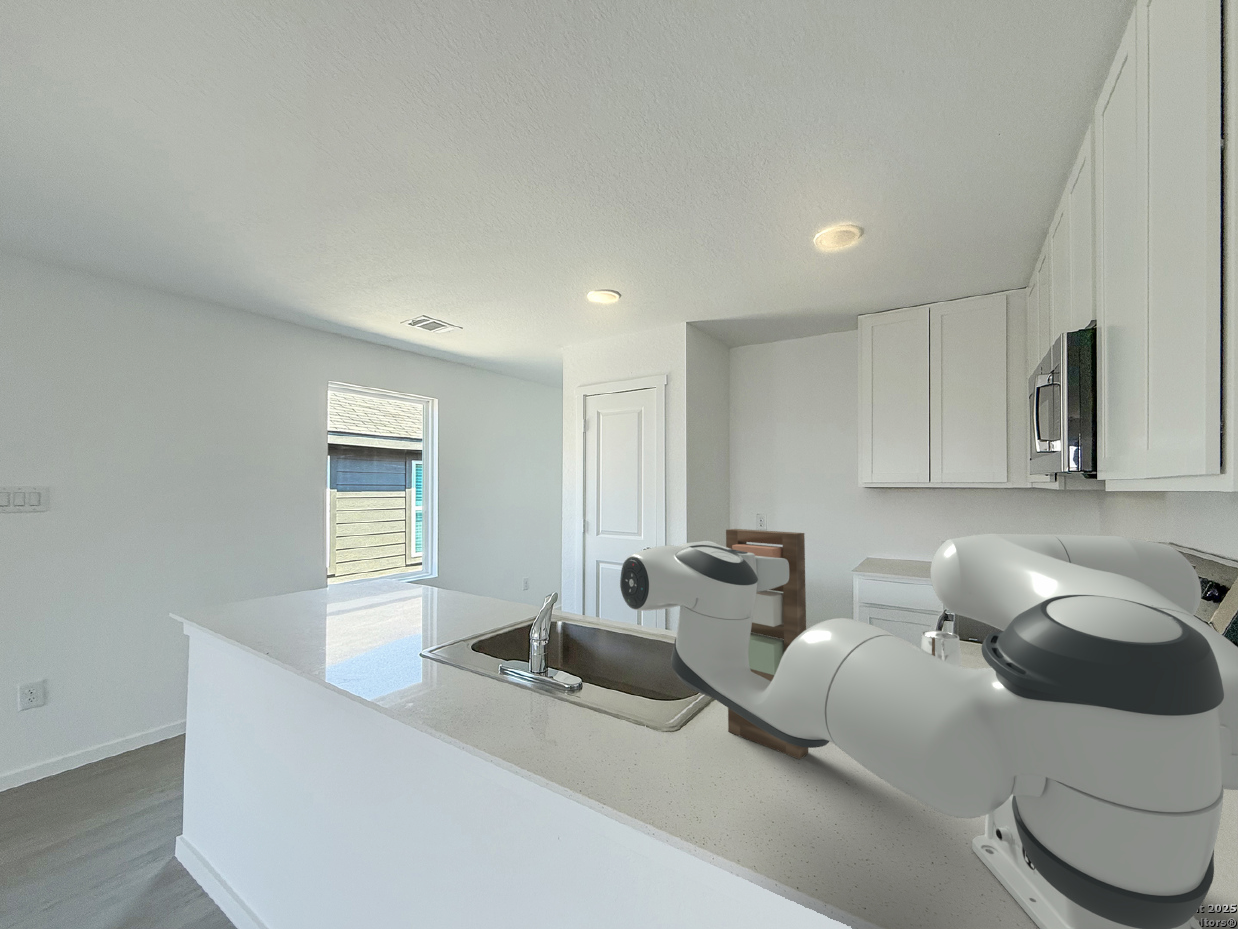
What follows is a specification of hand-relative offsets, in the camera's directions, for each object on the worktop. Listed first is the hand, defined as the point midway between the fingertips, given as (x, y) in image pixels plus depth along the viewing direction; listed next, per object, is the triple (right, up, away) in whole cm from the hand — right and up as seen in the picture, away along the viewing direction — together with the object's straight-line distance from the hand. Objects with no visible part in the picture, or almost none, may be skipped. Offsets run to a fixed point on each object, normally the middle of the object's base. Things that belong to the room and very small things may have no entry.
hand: (751, 561), depth 92 cm
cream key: (+2, -11, +1) cm, 11 cm away
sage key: (+2, -19, +1) cm, 19 cm away
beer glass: (+42, -33, +15) cm, 55 cm away
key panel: (+3, -32, +1) cm, 32 cm away
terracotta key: (+2, -3, +1) cm, 3 cm away
